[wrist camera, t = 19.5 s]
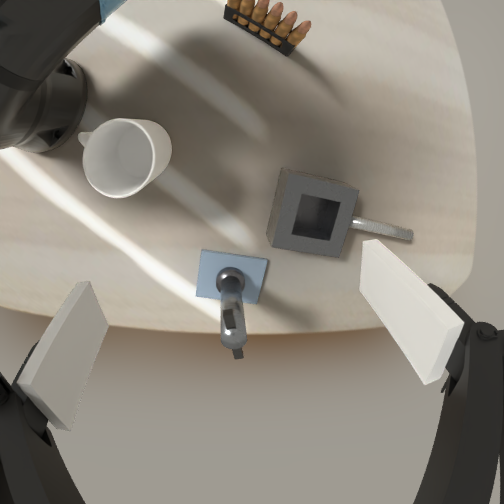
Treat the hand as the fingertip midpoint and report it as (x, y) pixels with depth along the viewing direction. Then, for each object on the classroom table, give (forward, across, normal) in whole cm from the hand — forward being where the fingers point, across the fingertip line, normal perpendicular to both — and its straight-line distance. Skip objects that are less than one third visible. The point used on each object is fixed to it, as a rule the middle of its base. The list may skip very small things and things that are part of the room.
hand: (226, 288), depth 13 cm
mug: (+29, -12, +6) cm, 32 cm away
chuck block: (+28, +18, -8) cm, 35 cm away
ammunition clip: (+29, +8, +20) cm, 36 cm away
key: (+28, -1, -16) cm, 32 cm away
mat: (+28, -1, -16) cm, 33 cm away
